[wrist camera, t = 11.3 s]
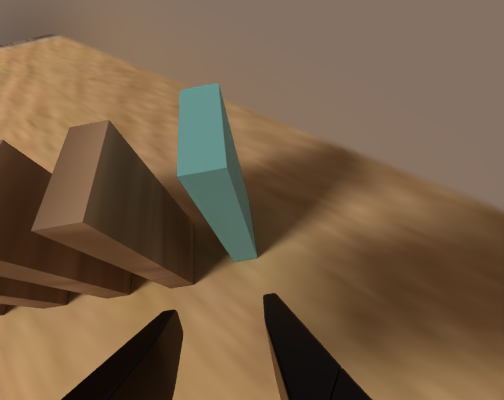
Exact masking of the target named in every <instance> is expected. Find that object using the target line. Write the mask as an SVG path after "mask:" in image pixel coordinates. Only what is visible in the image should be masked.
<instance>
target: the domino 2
mask: <svg viewBox="0 0 504 400" xmlns="http://www.w3.org/2000/svg"><path fill="white" fill-rule="evenodd" d="M69 292H70V291H68V290H63V289H59V288H54V287H49V286H44V285H39V284H35V283H30V282H25V281H20V280H16V279H11V278H6V277H1V276H0V304H8V305H17V306H26V307H34V308H43V309H44V308H50V307H56V306H63V305H66V304H67V300H68V296H69Z"/></svg>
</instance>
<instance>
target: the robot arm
mask: <svg viewBox="0 0 504 400" xmlns="http://www.w3.org/2000/svg"><path fill="white" fill-rule="evenodd" d="M263 304H264V319H265V325H266V330H267V335H268V340H269V346H270V351H271V356H272V361H273V366H274V371H275V376H276V381H277V385H278V389H279V393H280V397H281V400H372V399H371V398H370V397H369V396H368V395H367V394H366V393H365V392H364V391H363V390H362V389H361V388H360V386H359V385H358V384H357V383H356V382H355V381H354V380H353V379H352V378H351V377H350V376H349V374H348V373H347V372H346V371H345V370H344V369H343V368H341V366H340V365H339V363H338V362H337V361H336V360H335V359H334V358H333V357H332V356H331V355H330V353H329V352H328V351H327V350H326V349H325V348H324V347H323V346H322V344H321V343H320V342H319V341H318V340H317V339H316V338H315V337H314V336H313V334H312V333H311V332H310V331H309V330H308V329H307V328H306V327H305V325H304V324H303V323H302V322H301V321H300V320H299V319H298V318H297V317H296V315H295V314H294V313H293V312H292V311H291V310H290V309H289V308H288V306H287V305H286V304H285V303H284V302H283V301H282V300H281V299H280V298H279V296H278V295H277V294H276V293H271V294H265V295H264V296H263ZM182 341H183V329H182V326H181V322H180V319H179V316H178V313H177V311H176V310H168V311H163V312H162V313H160V314H159V315H158V316H157V317H156V318H155V319H154V320H152V321H151V322H150V323H149V324H148V325H147V326H145V327H144V328H143V329H142V330H141V331H140V332H138V333H137V334H136V335H135V336H134V337H133V338H132V339H130V340H129V341H128V342H127V343H126V344H125V345H123V346H122V347H121V348H120V349H119V350H118V351H117V352H115V353H114V354H113V355H112V356H111V357H110V358H108V359H107V360H106V361H105V362H104V363H103V364H102V365H100V366H99V367H98V368H97V369H96V370H95V371H93V372H92V373H91V374H90V375H89V376H88V377H87V378H85V379H84V380H83V381H82V382H81V383H80V384H78V385H77V386H76V387H75V388H74V389H73V390H71V391H70V392H69V393H68V394H67V395H66V396H65V397H63V398H62V399H61V400H172V398H173V394H174V390H175V384H176V378H177V372H178V366H179V360H180V354H181V347H182Z"/></svg>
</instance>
